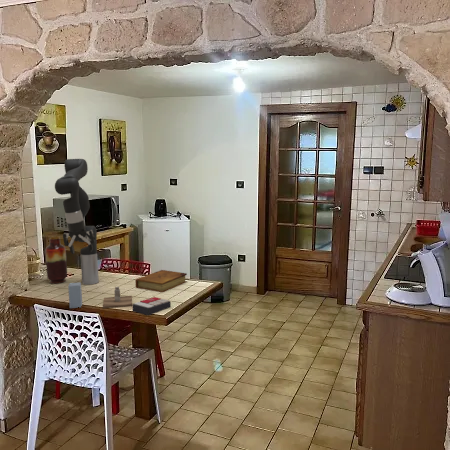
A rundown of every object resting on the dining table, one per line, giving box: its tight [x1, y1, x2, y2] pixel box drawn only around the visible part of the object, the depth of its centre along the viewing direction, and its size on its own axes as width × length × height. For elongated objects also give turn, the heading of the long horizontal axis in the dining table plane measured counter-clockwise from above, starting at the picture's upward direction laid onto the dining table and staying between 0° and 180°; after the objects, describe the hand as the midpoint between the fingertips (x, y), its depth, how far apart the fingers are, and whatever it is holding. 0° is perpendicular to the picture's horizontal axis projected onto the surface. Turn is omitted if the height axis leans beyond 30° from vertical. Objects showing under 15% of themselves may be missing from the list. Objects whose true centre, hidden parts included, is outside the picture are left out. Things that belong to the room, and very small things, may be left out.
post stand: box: [102, 286, 133, 309], centre depth 231 cm, size 14×14×8 cm
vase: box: [44, 236, 68, 285], centre depth 269 cm, size 11×11×26 cm
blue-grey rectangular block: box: [67, 282, 83, 309], centre depth 226 cm, size 5×5×11 cm
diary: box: [134, 269, 188, 293], centre depth 262 cm, size 23×19×6 cm
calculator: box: [132, 296, 171, 316], centre depth 221 cm, size 11×4×15 cm
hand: (82, 252), depth 222 cm, fingers open, 8 cm apart
